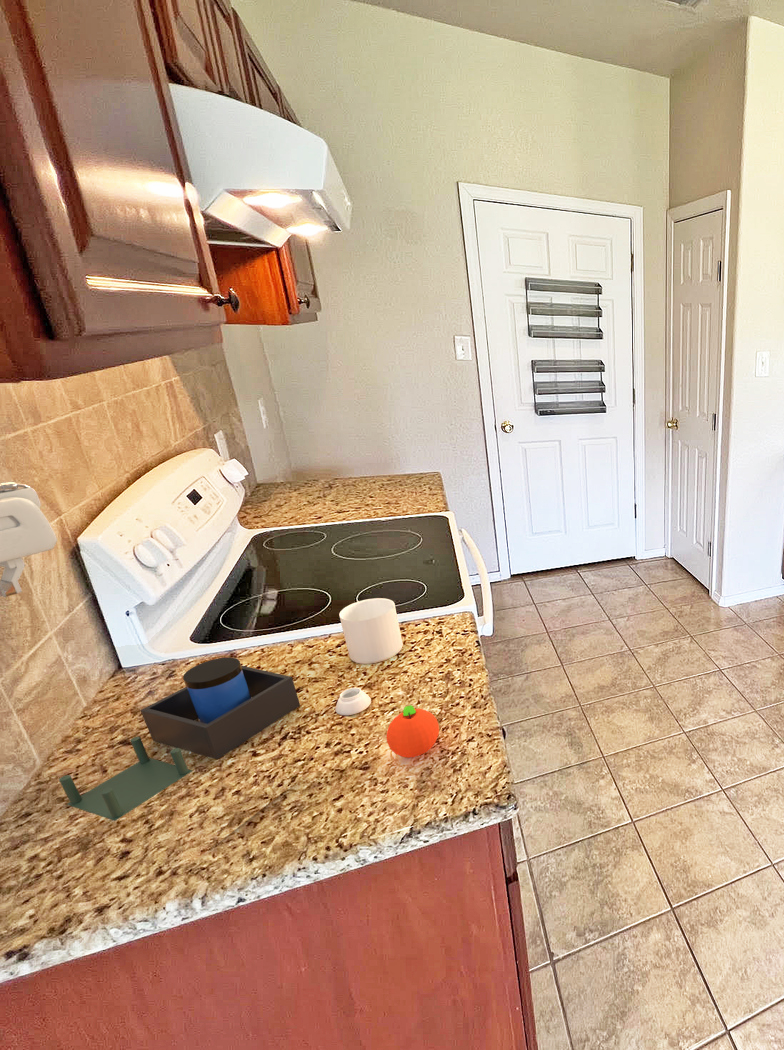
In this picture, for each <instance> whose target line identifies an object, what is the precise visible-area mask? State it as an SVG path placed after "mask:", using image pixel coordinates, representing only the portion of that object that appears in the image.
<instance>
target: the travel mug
mask: <svg viewBox="0 0 784 1050" xmlns="http://www.w3.org/2000/svg"><path fill="white" fill-rule="evenodd" d="M241 665H242V664H241V660H239V659H238V658H236V657H218V658H214V659H210V660H207V661H204V662H201V663H199V664H197V665H194V666H192V667H191V668H190V669H188V670H187V671H186V672H184V674H183V675H182V680H183V682H184V686H185V687H187V689H188V692H189V694H190V697H191V700H192V702H193V705H194V708H195V710H196V713H197V716H198V722H202V723H205V724H208V723H210V722H212V721H213V720H215V719H217V718H218V717H220V716H222V715H223V714H225V713H227V712H229V711H230V710H232V709H234V708H235V707H237V706H239V705H240V704H242V703H244V702H246V701H247V700H249V699H251V698H252V697H251V695H250V692H249V689H248V686H247V683H246V680H245V677H244V674H243V671H242V667H241Z"/></svg>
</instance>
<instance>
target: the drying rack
mask: <svg viewBox="0 0 784 1050" xmlns="http://www.w3.org/2000/svg"><path fill="white" fill-rule="evenodd" d="M130 744H131V746H132V748H133V750H134V753H135V755H136V757H137V761H138V762H136V763H134V764H133V765H131V766H129V767H127V768H125V769H124V770H122V771H120V772H119V773H116V775H114V776H112V777H110V778H108V779H107V780H105V781H103V782H101V783H100V784H98V785H96V786H95V787H93V788H91V789H90V790H88V791H86V792H85V793H83V794H80V792H79V790H78V787H77V786H76V783H75V782H74V780H73V778H72V775H70V774H66V775H63V776H61V777H60V778H59V779H58V781H59V783H60V786H61V787H62V789H63V791H64V793H65V795H66V797H67V799H68V800H69V802H68V803H66V806H69V807H73V808H76V809H79V810H81V811H85V812H87V813H90V814H93V815H97V816H99V817H102V818H105V819H108V820H111V821H114V822H115V821H118V820H119V819H120V818H122V817H123V816H125V815H126V814H128V813H130V812H131V811H133V810H134V809H136V808H138V807H139V806H141V805H142V804H143V803H145V802H147V801H149V800H150V799H152V798H154V796H156V795H158V794H159V793H160V792H162V791H165V789H167V788H169V787H170V786H171V785H174V784H175V783H176V782H178V781H179V780H181V779H182V778H184V777H185V776H187V775H189V774H190V773H192V772H193V771H194V770H192V769H190V768H188V766H187V763H186V761H185V758H184V755H183V754H182V750H181V749H180V748H175V747H173V748H172V749H171V750H170V751H169V753H170V756H171V758H172V761H173V763H174V764H172V763H169V762H166V761H162V760H159V759H155V758H152V757H149V755H148V752H147V750H146V748H145V745H144V742H143V741H142V738H141V737H140V736H135V737H133V738H131V739H130Z"/></svg>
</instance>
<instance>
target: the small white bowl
mask: <svg viewBox="0 0 784 1050" xmlns="http://www.w3.org/2000/svg"><path fill="white" fill-rule="evenodd" d="M371 704H372V698H371V696H369V695H368V694H367V693H366V692H365V691H364V690H363V689H361V688H359V687H350V688H348V689H344V690H343V691H341V693H340V694H339V698H338V699H337V702H336V705H335V708H334V710H335V712H336V714H337V715H339V716H351V715H357V714H358V713H362V712H363V711H365V710H366V709H367V708H368V707H370V705H371Z"/></svg>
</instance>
